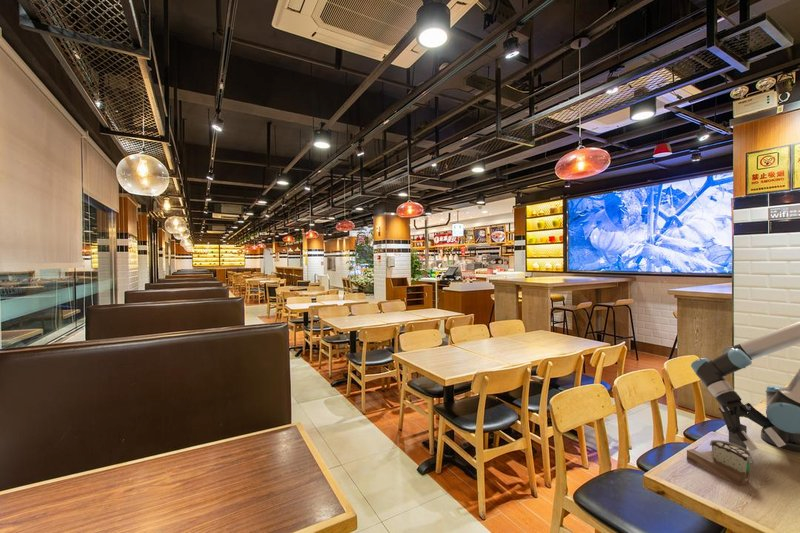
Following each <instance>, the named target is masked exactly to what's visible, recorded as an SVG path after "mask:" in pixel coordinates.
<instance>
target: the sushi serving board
mask: <svg viewBox="0 0 800 533" xmlns="http://www.w3.org/2000/svg"><path fill="white" fill-rule="evenodd" d="M740 425H741V431H744V432H745V433H746V434H747V425H745V424H742V423H740ZM747 435H748V434H747ZM728 442H730V443H733V444H736V445H739V446H741V447H743V448H745V449H747V450H748V447H747V446H746V445H745V443H744V442H743V441H742V440H741V439H740V438H739V437H738V435H737V434H736V433H735V434H733V433H732V432H729V431H728ZM686 459H687V460H689V461H691V462H692V463H695V464H696V465H698V466H700V467H702V468H704V469H705V470H708V471H709V472H712V473H713V474H715V475H717V476H719V477H721V478H722V479H725V480H726V481H729V482H731V483H733V484H735V485H736V486H738V487H741V486H746V484H747V483H746V475H745V474H743V473H741V472H739V471H737V470H735V469H733V468H731V467H729V466H727V465H725V464H723V463H721V462H719V461H716V460H714V459H713V453H712V450H711V451H706V452H700V451H698V450H696V449H693V448H691V449H687V450H686Z"/></svg>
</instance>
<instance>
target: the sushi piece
mask: <svg viewBox="0 0 800 533" xmlns="http://www.w3.org/2000/svg"><path fill="white" fill-rule="evenodd" d="M709 446H711V451H712V453H713V459H714V460H716V461H719V462H721V463H723V464H725V465H727V466H729V467H731V468H733V469H735V470H737V471H739V472H741V473H743V474H745V475H746V484H747V483H749V482H748V481H749V477H750V476H749V474H750V469H751V468H750V467H751V466H750V465H751V464H752V463H753V462H754V458H753V455H752V454H751V451H750V450H749V449H748V448H747V449H745V448H743V447H741V446H739V445H736V444H733V443H730V442H729V441H724V440H719V439H718V440H717V439H715V440H714V439H713V440H711V441H710V442H709Z"/></svg>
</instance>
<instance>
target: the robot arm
mask: <svg viewBox="0 0 800 533" xmlns="http://www.w3.org/2000/svg"><path fill="white" fill-rule="evenodd" d="M796 345H800V321H796V322H795V323H792V324H788V325H786V326H784V327H781V328H778V329H776V330H773V331H770V332H766V333H764V334H762V335H759V336H757V337H754V338H751V339H748V340H746V341H744V342H740V343H738V344H734V345H732V346H731V345H730V346H727V347H725V348H724V349H723V350H722V351H721V354H720V355H719V356H717V357H715V358H712V359H711V360H709V359H708V358H707V357H702V358H699V359H696V360H694V361H692V363H691V365H690V367H691V368H692V371H693V372H694V373H695V375H696V376H697V377H698V379H699V380H700V381H701V382H702V383H703V384H704V386H705V387H706V388H707V389H708V391H709V392H710V393H711V395H712V396H713V397H715V400H716V401H717V402H718V403H719V405H720V406H719V408H718V410H719V412H720V413H721V414H722V415H721V416H722V417H723V420H724V423H725V425H726V428H727V431H728V433H729V432H732V433H733V434H735V433H736V434H737V435H738V437H739V438H740V439H741V440H742V441H743V442H744V443H745V445H746V446H747V450H748V451H749V452H754V451H756V450H757V449H758V447H757V445H756V444H755V442H753V440H752V438H751V437H750V436H748V434H746V433H745V432H744V431H741V425H740V424H741V420H740V418H747V419H749V420H751V421H752V422H754V423H755V424H756V425H758V426H760V427H761V430H760V438H761V439H762V440H764V441H765V442H767V443H769V444H771V445H773V446H776V447H778V448H780V449H781V448H782V449H786V450H789V451H794V452H798V453H799V452H800V368H799V370H798V371H797V372H796V374H795V375H794V376H793V378H792V379H791V381H790V382H789V384H788V385H787V386H779V385H768V386H766V390H765V393H766V394H765V396H766V406H765V407H766V408H765V415H764V414H762V413H761V412H760V411H759V410H757V409H756V408H755V407H754V406H753V405H752V404H751V403H750V402H747V403H745V404H744V403H743V402H742V397H741V396H740V395H739V394H738V393H737V392H736V391H734V388H733V386H731V385H730V383H729V382H728V381H727V380H726V378H725V377H726V376H728V375H731V374H733V373H736V372H738V371H740V370H743V369H746V367H749V366H751V365H752V364H753V362H752V360H756V359H757V358H761V357H764V356H767V355H769V354H773V353H776V352H778V351H782V350H785V349H788V348H790V347H793V346H796ZM758 450H759V449H758Z"/></svg>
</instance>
